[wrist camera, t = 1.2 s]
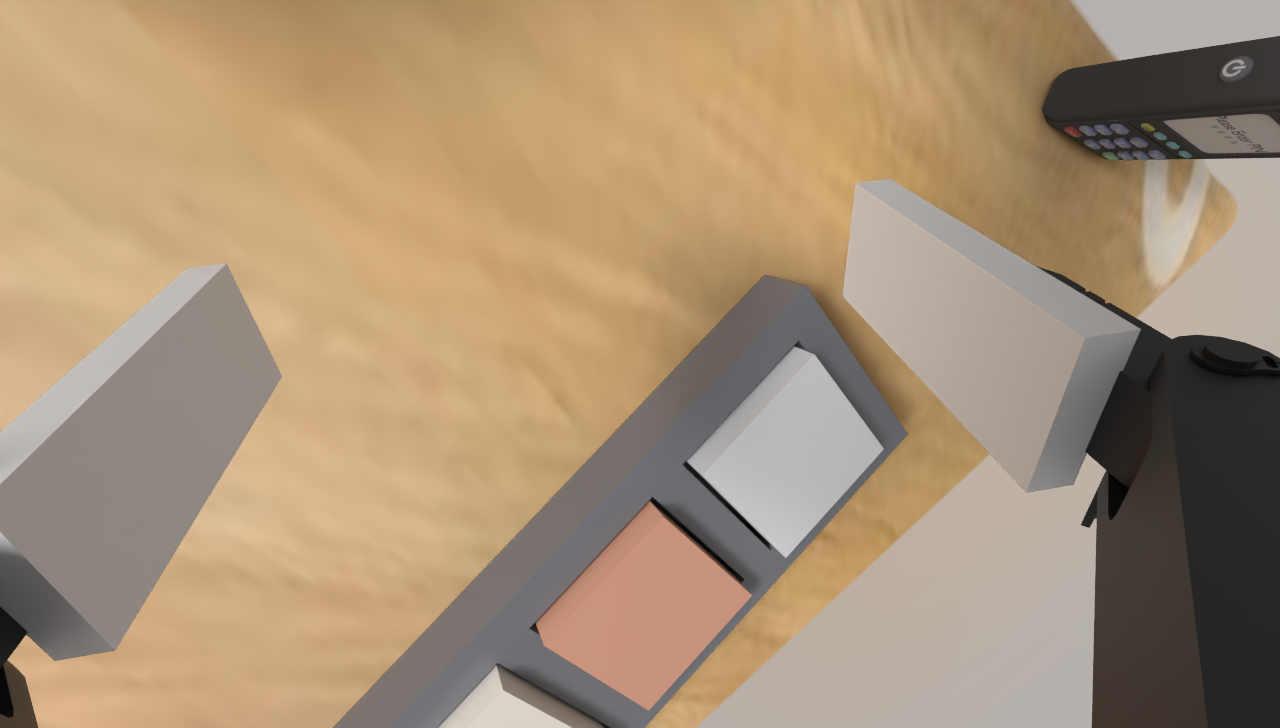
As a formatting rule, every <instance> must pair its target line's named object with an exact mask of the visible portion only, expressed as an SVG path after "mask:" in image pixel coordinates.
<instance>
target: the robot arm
mask: <svg viewBox="0 0 1280 728" xmlns="http://www.w3.org/2000/svg"><path fill="white" fill-rule="evenodd" d="M843 297H844V299H845V300H846V301H847V302H848V303H849V304H850V305H851V306H852V307H853V308H854V309H855V310H856V311H857V312H858V313H859V315H860V316H861V317H862V318H863V319H864V320H865V321H866V322H867V323H868V324H869V325H870V326H871V327H872V328H873V329H874V331H875V332H876V333H877V334H878V335H879V336H880V337H881V338H882V339H883V340H884V341H885V342H886V343H887V344H888V346H889V347H890V348H891V349H892V350H893V351H894V352H895V353H896V354H897V355H898V356H899V357H900V358H901V359H902V360H903V362H904V363H905V364H906V365H907V366H908V367H909V368H910V369H911V370H912V371H913V372H914V373H915V374H916V375H917V376H918V378H919V379H920V380H921V381H922V382H923V383H924V384H925V385H926V386H927V387H928V388H929V389H930V390H931V391H932V392H933V394H934V395H935V396H936V397H937V398H938V399H939V400H940V401H941V402H942V403H943V404H944V405H945V406H946V407H947V409H948V410H949V411H950V412H951V413H952V414H953V415H954V416H955V417H956V418H957V419H958V420H959V421H960V422H961V423H962V425H963V426H964V427H965V428H966V429H967V430H968V431H969V432H970V433H971V434H972V435H973V436H974V437H975V438H976V439H977V441H978V442H979V443H980V444H981V445H982V446H983V447H984V448H985V449H986V450H987V451H988V452H989V453H990V454H991V455H992V456H993V457H994V459H995V460H996V461H997V462H998V463H999V464H1000V465H1001V466H1002V467H1003V468H1004V469H1005V470H1006V471H1007V473H1008V474H1009V475H1010V476H1011V477H1013V479H1014V480H1015V481H1016V482H1017V483H1018V484H1019V485H1020V486H1021V487H1022V489H1023V490H1024V491H1025V492H1033V491H1039V490H1045V489H1050V488H1055V487H1062V486H1067V485H1073V484H1074V482H1075V479H1076V477H1077V475H1078V473H1079V470H1080V468H1081V465H1082V463H1083V461H1084V459H1085V456H1086V454H1087V453H1088V454H1089V455H1090V456H1091V457H1092V458H1093V459H1094V460H1096V461H1097V462H1098V463H1099V464H1100V465H1101V466H1102V467H1104V468H1105V469H1106V472H1105V474H1104V476H1103V479H1102V481H1101V483H1100V485H1099V487H1098V489H1097V491H1096V494H1095V496H1094V498H1093V500H1092V502H1091V504H1090V506H1089V508H1088V510H1087V513H1086V515H1085V517H1084V519H1083V521H1082V524H1081V525H1082V526H1085V527H1090V526H1091V524H1092V522H1093V520H1094V519H1095V518H1097V535H1096V577H1095V619H1094V661H1093V704H1092V707H1093V708H1092V728H1280V358H1278V357H1277V356H1275V355H1273V354H1272V353H1270V352H1268V351H1265V350H1262V349H1260V348H1257V347H1255V346H1252V345H1250V344H1247V343H1244V342H1240V341H1235V340H1231V339H1227V338H1223V337H1215V336H1204V335H1190V336H1179V337H1176V338H1174V339H1171V338H1169V337H1167V336H1166V335H1164V334H1162V333H1160V332H1159V331H1157V330H1155V329H1154V328H1152V327H1150V326H1148V325H1147V324H1145V323H1143V322H1142V321H1140V320H1138V319H1136V318H1135V317H1133V316H1131V315H1130V314H1128V313H1126V312H1125V311H1123V310H1121V309H1119V308H1118V307H1116V306H1114V305H1113V304H1111V303H1106V304H1105V300H1104V299H1102V298H1101V297H1099V296H1097V295H1095V294H1094V293H1092V292H1090V291H1089V292H1085V288H1083V287H1082V286H1080V285H1078V284H1077V283H1075V282H1073V281H1071V280H1070V279H1068V278H1066V277H1065V276H1063V275H1061V274H1058V273H1055V272H1052V271H1049V270H1046V269H1043V268H1040V267H1037V266H1034V265H1033V264H1031V263H1029V262H1028V261H1026V260H1024V259H1023V258H1021V257H1019V256H1018V255H1016V254H1014V253H1013V252H1011V251H1009V250H1008V249H1006V248H1004V247H1003V246H1001V245H999V244H998V243H996V242H994V241H993V240H991V239H989V238H988V237H986V236H984V235H983V234H981V233H979V232H978V231H976V230H974V229H973V228H971V227H969V226H968V225H966V224H964V223H963V222H961V221H959V220H958V219H956V218H954V217H952V216H951V215H949V214H947V213H946V212H944V211H942V210H941V209H939V208H937V207H936V206H934V205H932V204H931V203H929V202H927V201H926V200H924V199H922V198H921V197H919V196H917V195H916V194H914V193H912V192H911V191H909V190H907V189H906V188H904V187H902V186H901V185H899V184H897V183H896V182H894V181H892V180H891V179H885V180H877V181H869V182H862V183H856V187H855V195H854V204H853V212H852V221H851V229H850V238H849V246H848V255H847V263H846V271H845V280H844V288H843ZM281 377H282V375H281V373H280V371H279V369H278V367H277V365H276V363H275V361H274V359H273V357H272V355H271V353H270V351H269V349H268V347H267V345H266V343H265V341H264V339H263V337H262V335H261V333H260V331H259V329H258V326H257V324H256V322H255V320H254V318H253V316H252V314H251V312H250V310H249V308H248V306H247V304H246V302H245V300H244V298H243V296H242V294H241V292H240V290H239V288H238V286H237V284H236V282H235V280H234V278H233V276H232V274H231V272H230V270H229V268H228V266H227V264H220V265H212V266H204V267H196V268H188V269H186V270H185V271H183V272H182V273H181V274H180V275H179V276H178V277H177V278H175V279H174V280H173V281H172V282H171V283H170V284H169V285H167V286H166V287H165V288H164V289H163V290H162V291H161V292H159V293H158V294H157V295H156V296H155V297H154V298H153V299H151V300H150V301H149V302H148V303H147V304H146V305H145V306H144V307H142V308H141V309H140V310H139V311H138V312H137V313H136V314H134V315H133V316H132V317H131V318H130V319H129V320H128V321H126V322H125V323H124V324H123V325H122V326H121V327H120V328H118V329H117V330H116V331H115V332H114V333H113V334H112V335H110V336H109V337H108V338H107V339H106V340H105V341H104V342H102V343H101V344H100V345H99V346H98V347H97V348H96V349H94V350H93V351H92V352H91V353H90V354H89V355H88V356H86V357H85V358H84V359H83V360H82V361H81V362H80V363H78V364H77V365H76V366H75V367H74V368H73V369H72V370H71V371H69V372H68V373H67V374H66V375H65V376H64V377H63V378H61V379H60V380H59V381H58V382H57V383H56V384H55V385H53V386H52V387H51V388H50V389H49V390H48V391H47V392H45V393H44V394H43V395H42V396H41V397H40V398H39V399H37V400H36V401H35V402H34V403H33V404H32V405H31V406H29V407H28V408H27V409H26V410H25V411H24V412H23V413H21V414H20V415H19V416H18V417H17V418H16V419H15V420H13V421H12V422H11V423H10V424H9V425H8V426H7V427H6V428H4V429H3V430H2V431H1V432H0V728H38V725H37V721H36V717H35V714H34V710H33V706H32V702H31V699H30V695H29V691H28V687H27V683H26V680H25V677H24V676H23V675H22V673H21V672H20V671H19V670H18V669H17V668H16V667H15V666H13V665H12V664H11V663H10V662H9V661H8V660H7V659H8V658H9V657H10V655H11V654H12V653H13V651H14V650H15V649H16V647H17V646H18V645H19V643H20V642H21V641H22V639H23V638H24V637H25V635H27V636H29V637H30V638H31V639H32V640H33V641H34V642H35V643H36V644H37V645H38V646H39V647H40V648H42V649H43V650H44V651H45V652H46V653H47V654H48V655H49V656H50V657H51V658H52V659H54V660H55V661H57V660H62V659H68V658H74V657H80V656H85V655H91V654H97V653H103V652H109V651H114V650H116V648H117V647H118V645H119V643H120V642H121V640H122V638H123V637H124V635H125V633H126V632H127V630H128V628H129V627H130V625H131V624H132V622H133V620H134V619H135V617H136V615H137V614H138V612H139V610H140V609H141V607H142V605H143V604H144V602H145V601H146V599H147V597H148V596H149V594H150V592H151V591H152V589H153V587H154V586H155V584H156V583H157V581H158V579H159V578H160V576H161V574H162V573H163V571H164V569H165V568H166V566H167V564H168V563H169V561H170V560H171V558H172V556H173V555H174V553H175V551H176V550H177V548H178V546H179V545H180V543H181V541H182V540H183V538H184V537H185V535H186V533H187V532H188V530H189V528H190V527H191V525H192V523H193V522H194V520H195V518H196V517H197V515H198V514H199V512H200V510H201V509H202V507H203V505H204V504H205V502H206V500H207V499H208V497H209V496H210V494H211V492H212V491H213V489H214V487H215V486H216V484H217V482H218V481H219V479H220V477H221V476H222V474H223V473H224V471H225V469H226V468H227V466H228V464H229V463H230V461H231V459H232V458H233V456H234V454H235V453H236V451H237V450H238V448H239V446H240V445H241V443H242V441H243V440H244V438H245V436H246V435H247V433H248V432H249V430H250V428H251V427H252V425H253V423H254V422H255V420H256V418H257V417H258V415H259V413H260V412H261V410H262V409H263V407H264V405H265V404H266V402H267V400H268V399H269V397H270V395H271V394H272V392H273V390H274V389H275V387H276V386H277V384H278V382H279V381H280V379H281Z"/></svg>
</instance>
